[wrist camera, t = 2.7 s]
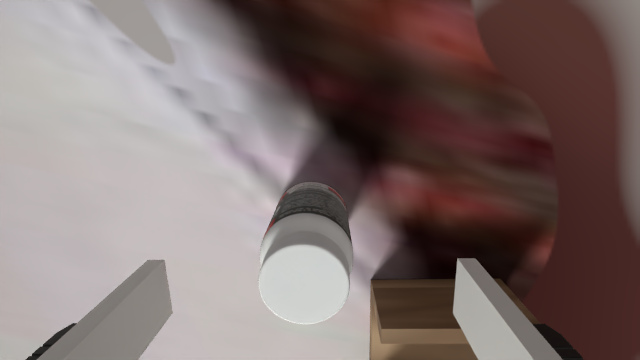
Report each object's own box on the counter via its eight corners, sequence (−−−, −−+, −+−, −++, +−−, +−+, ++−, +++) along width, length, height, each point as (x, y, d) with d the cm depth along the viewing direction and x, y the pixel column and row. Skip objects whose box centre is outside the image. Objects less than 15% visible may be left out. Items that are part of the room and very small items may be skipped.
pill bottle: (271, 185, 22) (237, 241, 14) (342, 175, 22) (350, 228, 14) (283, 250, 23) (259, 336, 15) (351, 241, 23) (363, 326, 15)
